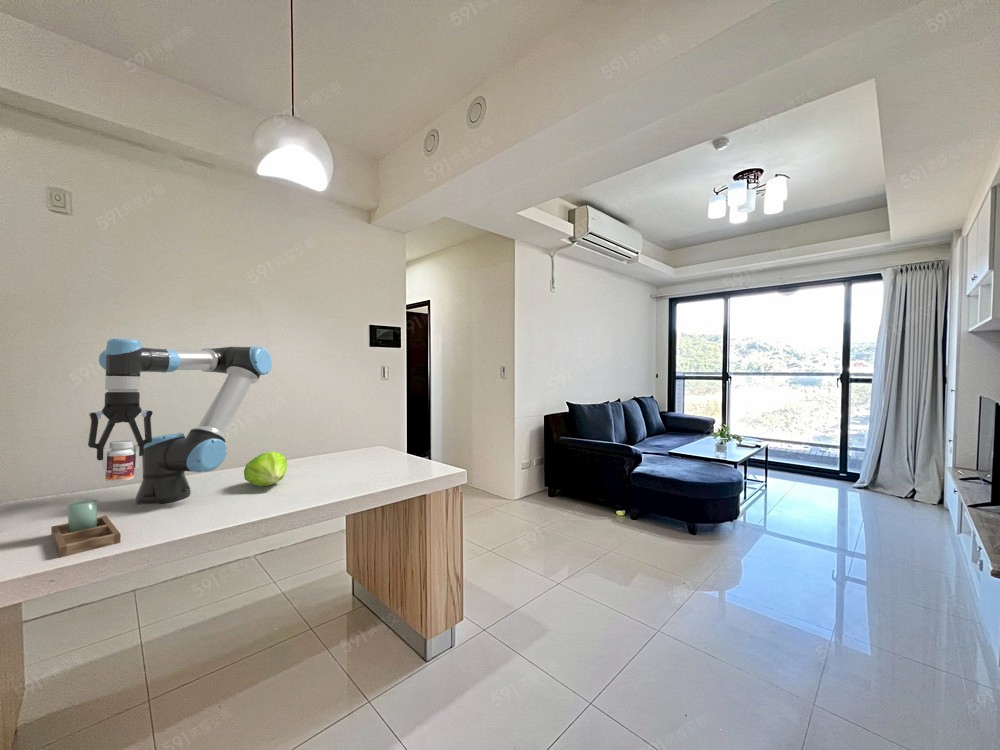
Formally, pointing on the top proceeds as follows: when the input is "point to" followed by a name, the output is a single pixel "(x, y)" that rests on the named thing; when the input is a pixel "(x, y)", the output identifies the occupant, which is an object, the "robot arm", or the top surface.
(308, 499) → the top surface
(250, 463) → the lettuce
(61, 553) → the crate
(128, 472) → the pill bottle
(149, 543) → the top surface
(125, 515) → the top surface
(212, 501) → the top surface
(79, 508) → the soap bar
